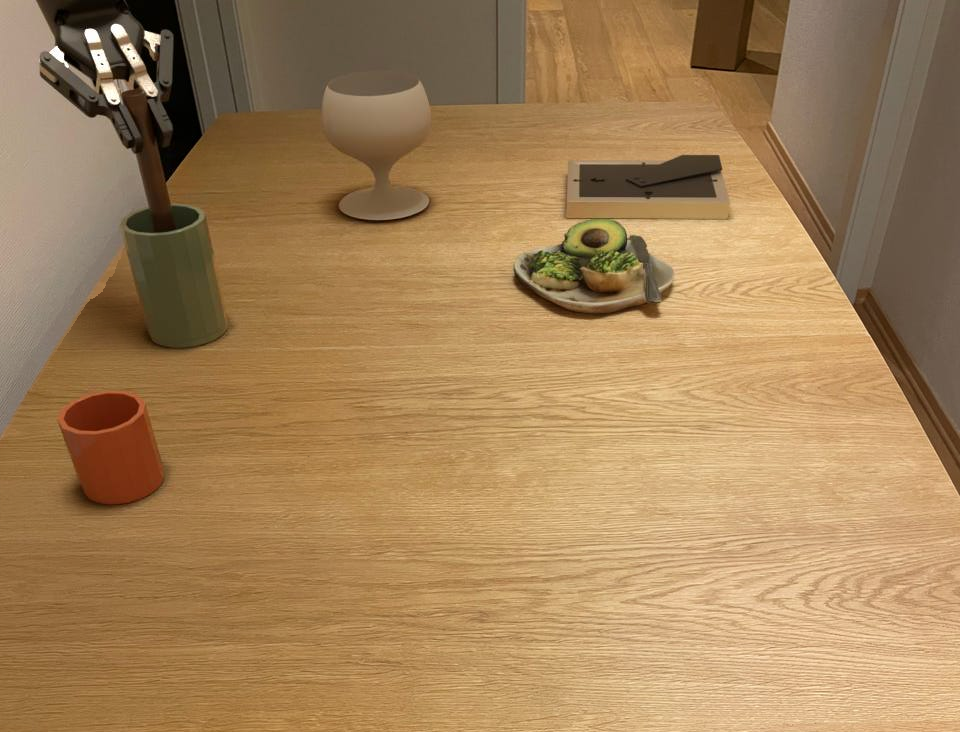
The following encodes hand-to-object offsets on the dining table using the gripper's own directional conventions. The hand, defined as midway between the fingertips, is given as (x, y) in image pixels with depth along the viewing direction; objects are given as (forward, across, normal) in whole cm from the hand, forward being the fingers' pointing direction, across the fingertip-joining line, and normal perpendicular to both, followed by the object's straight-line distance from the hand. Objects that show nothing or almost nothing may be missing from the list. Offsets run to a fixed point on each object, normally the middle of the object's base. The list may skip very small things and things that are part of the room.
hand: (152, 144), depth 96 cm
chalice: (0, -36, -28) cm, 46 cm away
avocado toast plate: (+26, -42, -2) cm, 50 cm away
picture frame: (+15, -65, -13) cm, 68 cm away
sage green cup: (+12, 0, -15) cm, 20 cm away
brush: (+10, 0, -13) cm, 16 cm away
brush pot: (+29, +17, +2) cm, 34 cm away
